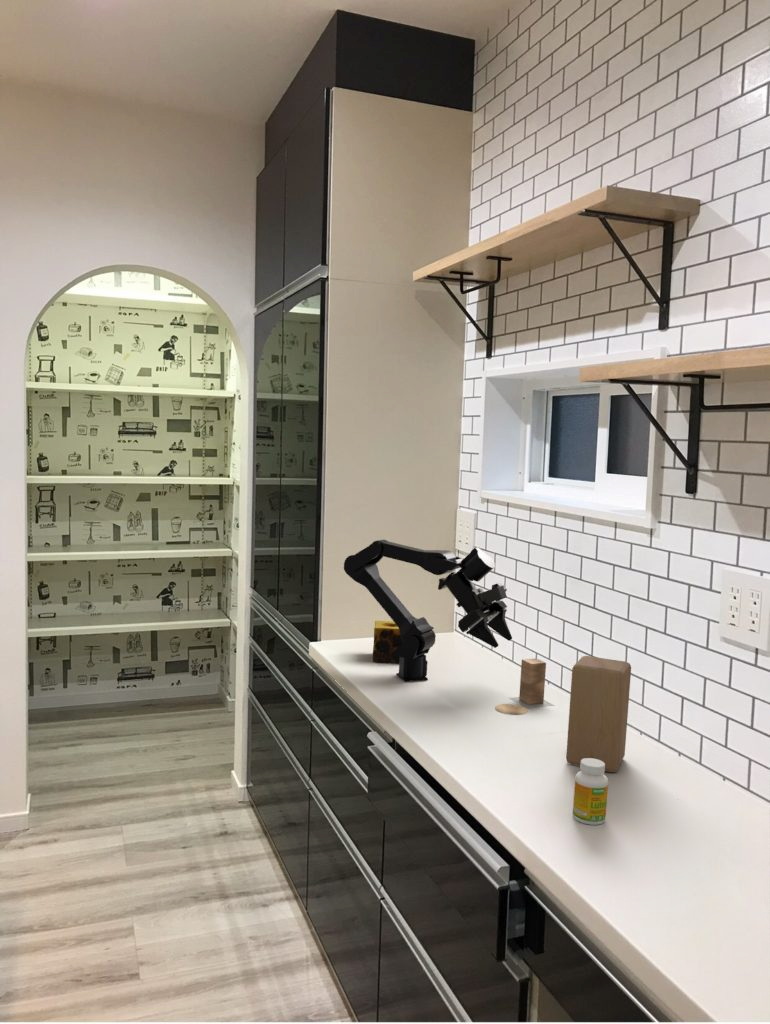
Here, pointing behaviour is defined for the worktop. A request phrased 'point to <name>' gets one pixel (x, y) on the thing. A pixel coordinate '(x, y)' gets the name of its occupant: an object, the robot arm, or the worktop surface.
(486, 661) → the worktop surface
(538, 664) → the walnut block
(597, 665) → the block
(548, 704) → the tile
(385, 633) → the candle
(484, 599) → the robot arm
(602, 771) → the supplement bottle
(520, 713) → the cork coaster
